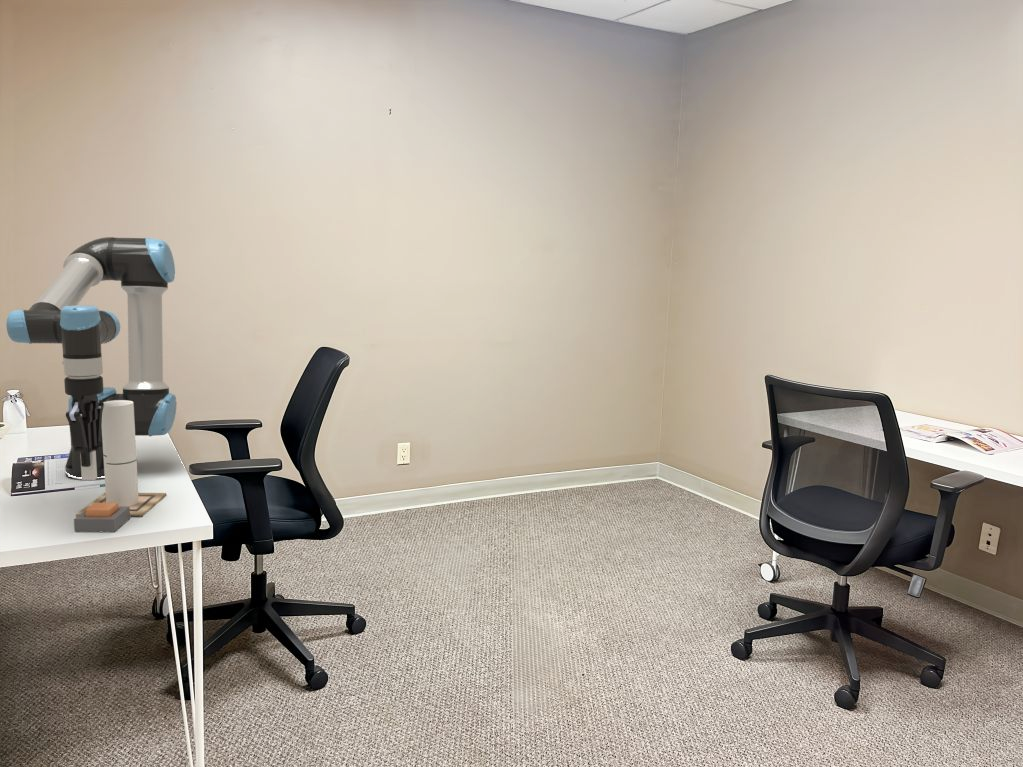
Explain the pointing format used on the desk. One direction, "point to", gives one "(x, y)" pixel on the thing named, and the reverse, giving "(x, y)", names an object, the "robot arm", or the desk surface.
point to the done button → (102, 510)
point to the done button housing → (102, 521)
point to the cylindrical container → (119, 452)
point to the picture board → (138, 509)
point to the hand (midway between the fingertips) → (89, 479)
